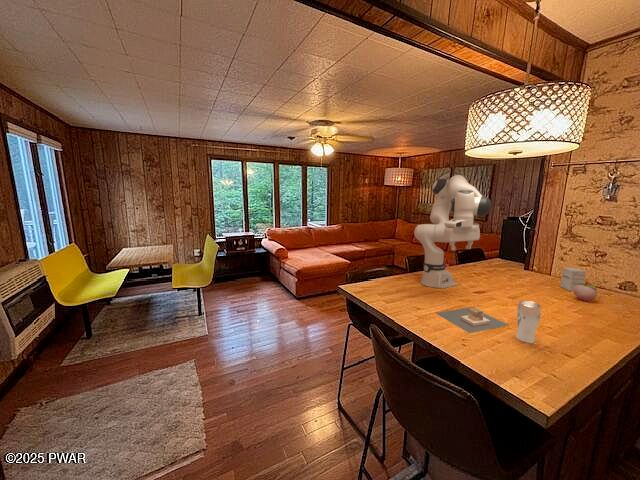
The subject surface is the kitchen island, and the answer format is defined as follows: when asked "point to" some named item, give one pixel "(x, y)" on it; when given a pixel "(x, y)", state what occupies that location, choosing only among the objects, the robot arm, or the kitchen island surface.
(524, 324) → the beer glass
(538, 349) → the kitchen island surface
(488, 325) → the mat
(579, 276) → the supplement box
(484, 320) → the tile
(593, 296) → the decorative fruit
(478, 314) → the beech cube
